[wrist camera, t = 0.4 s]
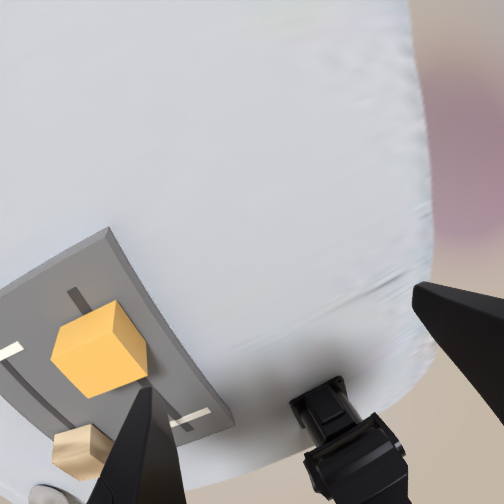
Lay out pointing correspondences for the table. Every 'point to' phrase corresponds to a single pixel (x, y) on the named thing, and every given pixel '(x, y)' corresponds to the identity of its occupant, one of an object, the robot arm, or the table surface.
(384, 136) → the table surface
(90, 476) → the oak fader
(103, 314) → the block
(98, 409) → the fader panel
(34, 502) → the plastic bottle
